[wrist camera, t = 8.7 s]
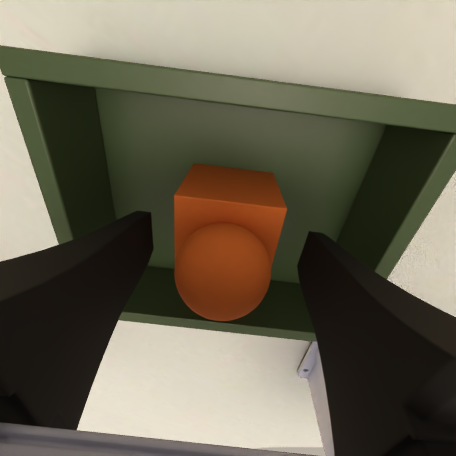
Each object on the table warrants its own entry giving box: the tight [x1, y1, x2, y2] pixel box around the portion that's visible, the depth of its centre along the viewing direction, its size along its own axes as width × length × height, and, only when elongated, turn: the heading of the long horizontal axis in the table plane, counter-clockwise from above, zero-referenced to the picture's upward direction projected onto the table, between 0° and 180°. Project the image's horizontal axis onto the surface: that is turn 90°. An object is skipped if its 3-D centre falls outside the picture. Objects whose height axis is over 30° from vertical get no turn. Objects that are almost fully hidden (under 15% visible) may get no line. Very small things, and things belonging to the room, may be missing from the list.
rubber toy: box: [174, 163, 287, 321], centre depth 11 cm, size 4×4×8 cm
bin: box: [0, 45, 456, 342], centre depth 12 cm, size 13×16×5 cm
